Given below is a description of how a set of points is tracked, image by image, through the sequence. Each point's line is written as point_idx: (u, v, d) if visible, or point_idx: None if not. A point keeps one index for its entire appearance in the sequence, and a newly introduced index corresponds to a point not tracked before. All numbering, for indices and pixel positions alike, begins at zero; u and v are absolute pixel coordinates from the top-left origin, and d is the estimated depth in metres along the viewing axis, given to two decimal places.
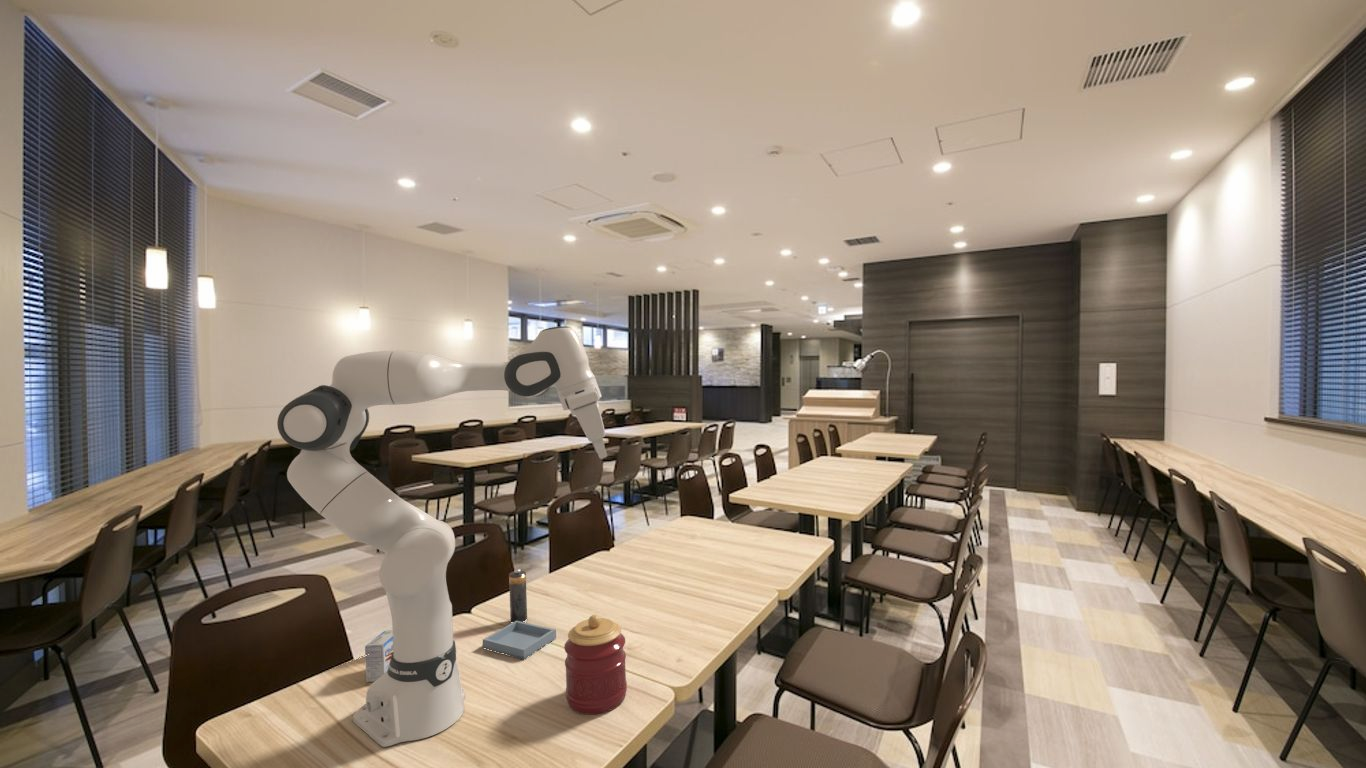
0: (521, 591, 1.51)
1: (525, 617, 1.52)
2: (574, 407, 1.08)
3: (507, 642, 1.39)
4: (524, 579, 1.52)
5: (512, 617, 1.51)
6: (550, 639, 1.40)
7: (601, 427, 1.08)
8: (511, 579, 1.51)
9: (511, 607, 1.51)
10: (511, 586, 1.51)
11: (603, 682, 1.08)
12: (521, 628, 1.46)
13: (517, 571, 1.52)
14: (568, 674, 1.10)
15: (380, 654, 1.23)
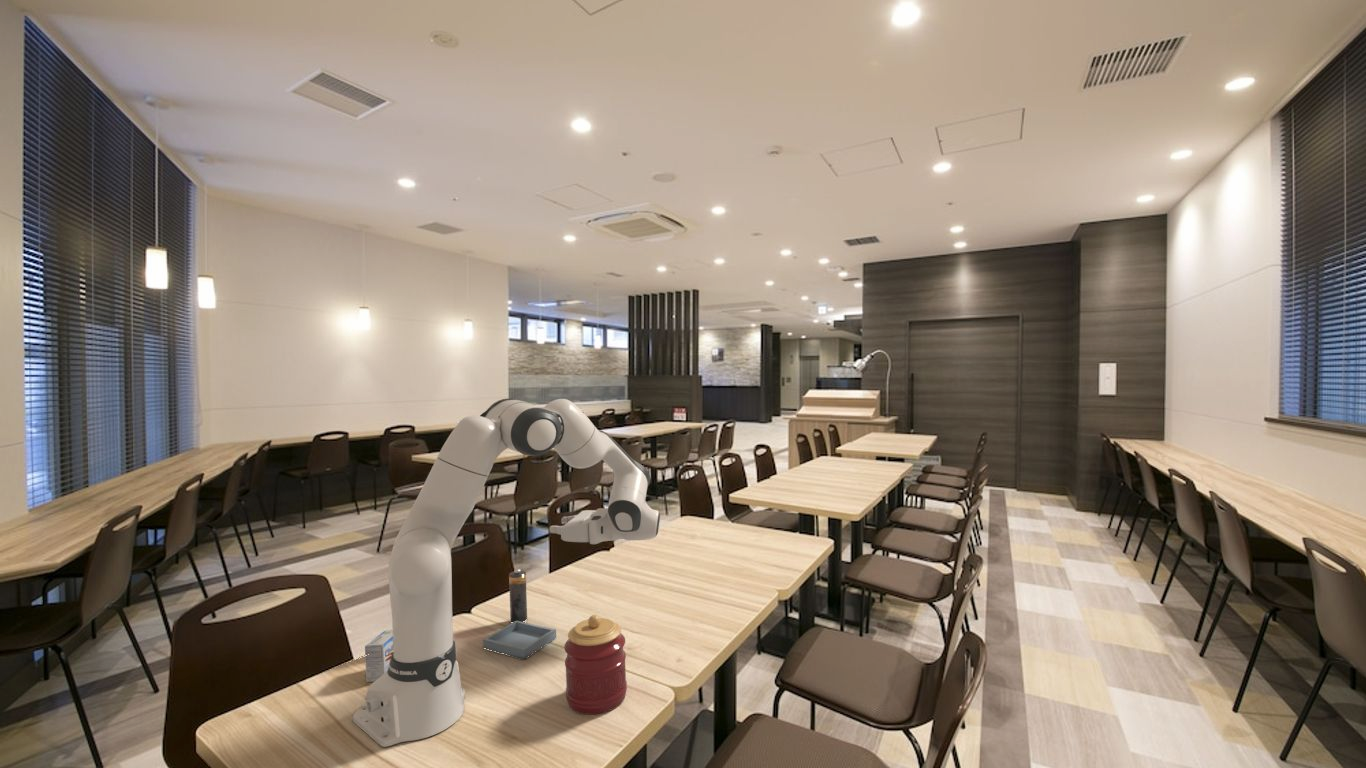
0: (521, 591, 1.51)
1: (525, 617, 1.52)
2: (589, 524, 1.42)
3: (507, 642, 1.39)
4: (524, 579, 1.52)
5: (512, 617, 1.51)
6: (550, 639, 1.40)
7: (567, 540, 1.41)
8: (511, 579, 1.51)
9: (511, 607, 1.51)
10: (511, 586, 1.51)
11: (603, 682, 1.08)
12: (521, 628, 1.46)
13: (517, 571, 1.52)
14: (568, 674, 1.10)
15: (380, 654, 1.23)
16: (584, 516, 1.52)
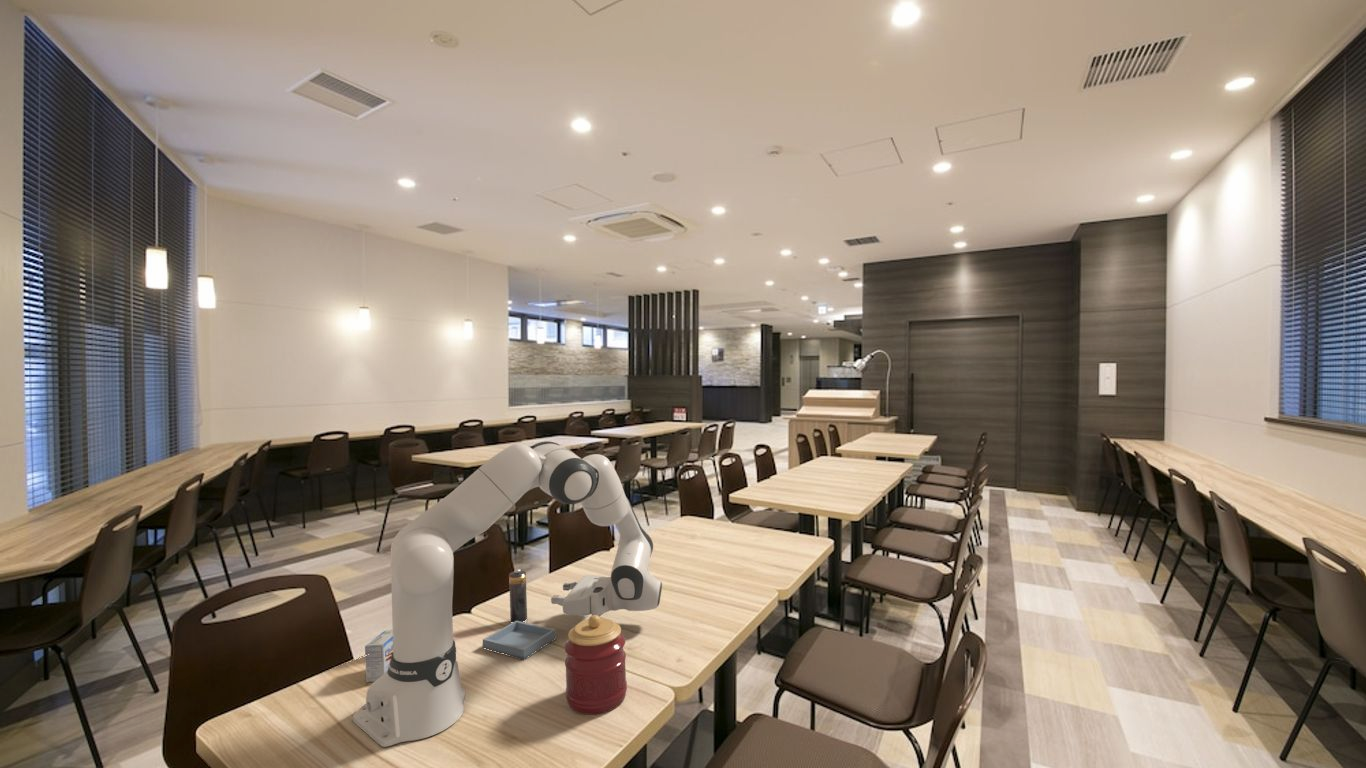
0: (521, 591, 1.51)
1: (525, 617, 1.52)
2: (591, 597, 1.42)
3: (507, 642, 1.39)
4: (524, 579, 1.52)
5: (512, 617, 1.51)
6: (550, 639, 1.40)
7: (569, 613, 1.41)
8: (511, 579, 1.51)
9: (511, 607, 1.51)
10: (511, 586, 1.51)
11: (603, 682, 1.08)
12: (521, 628, 1.46)
13: (517, 571, 1.52)
14: (568, 674, 1.10)
15: (380, 654, 1.23)
16: (586, 584, 1.52)
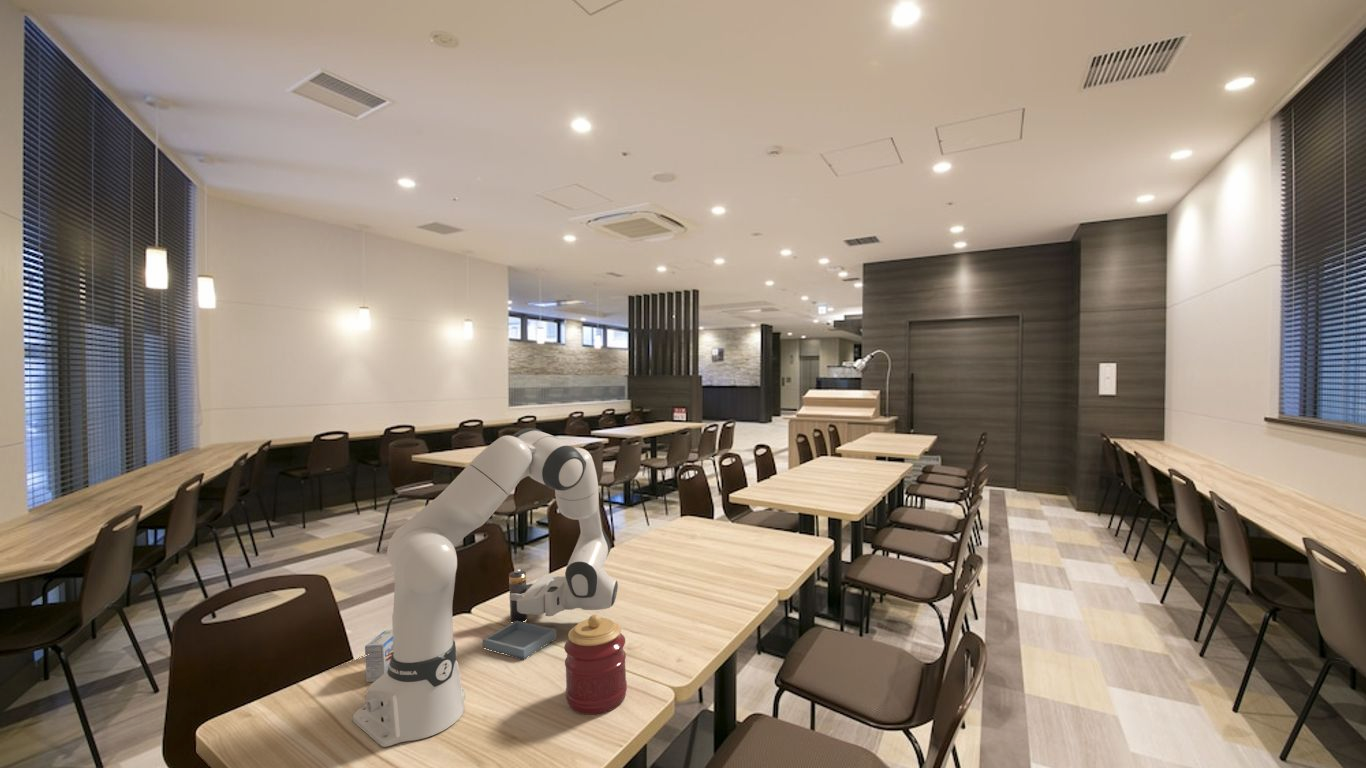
0: (521, 591, 1.51)
1: (525, 617, 1.52)
2: (545, 596, 1.43)
3: (507, 642, 1.39)
4: (524, 579, 1.52)
5: (512, 617, 1.51)
6: (550, 639, 1.40)
7: (523, 612, 1.42)
8: (511, 579, 1.51)
9: (511, 607, 1.51)
10: (511, 586, 1.51)
11: (603, 682, 1.08)
12: (521, 628, 1.46)
13: (517, 571, 1.52)
14: (568, 674, 1.10)
15: (380, 654, 1.23)
16: (543, 583, 1.54)
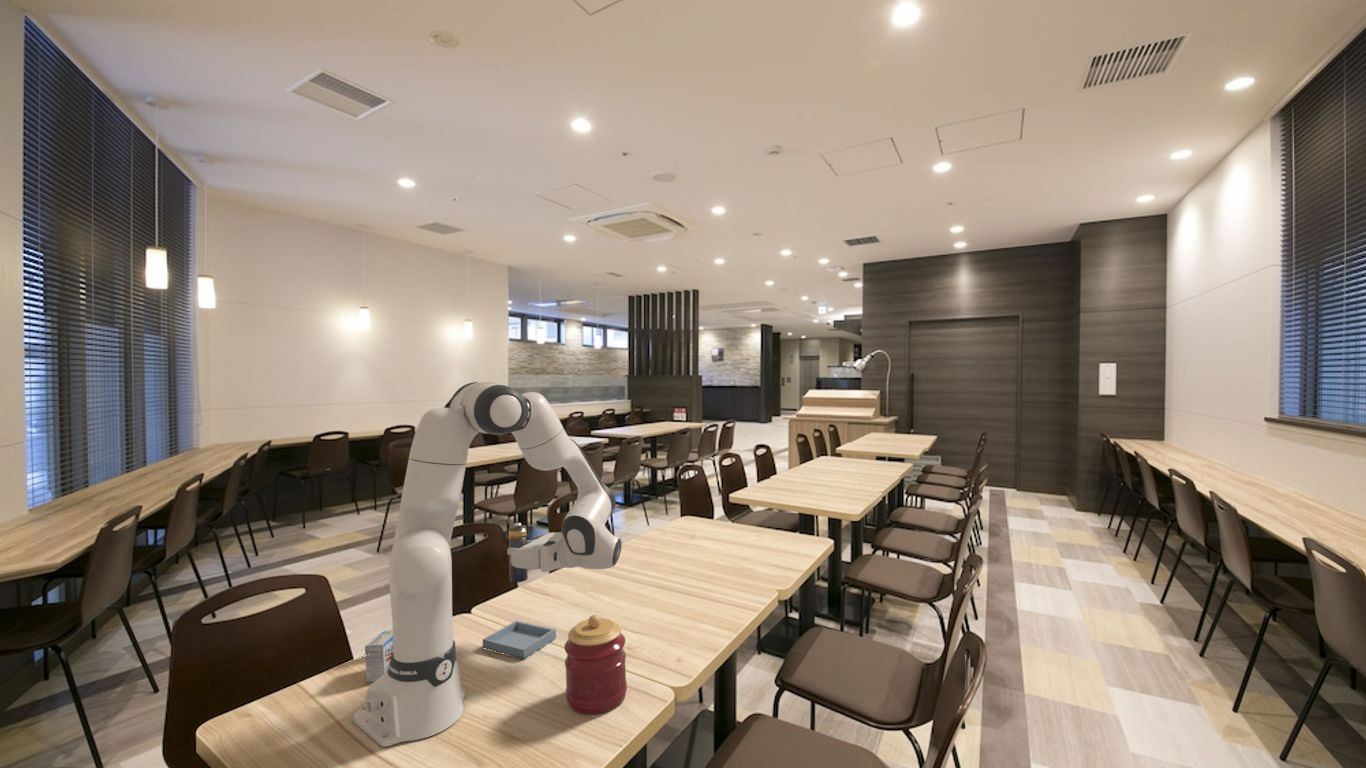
0: (520, 546, 1.41)
1: (525, 574, 1.42)
2: (540, 550, 1.32)
3: (507, 642, 1.39)
4: (524, 534, 1.42)
5: (511, 573, 1.41)
6: (550, 639, 1.40)
7: (517, 566, 1.32)
8: (510, 533, 1.41)
9: (510, 563, 1.41)
10: (510, 540, 1.41)
11: (603, 682, 1.08)
12: (521, 628, 1.46)
13: (517, 525, 1.42)
14: (568, 674, 1.10)
15: (380, 654, 1.23)
16: (544, 540, 1.43)
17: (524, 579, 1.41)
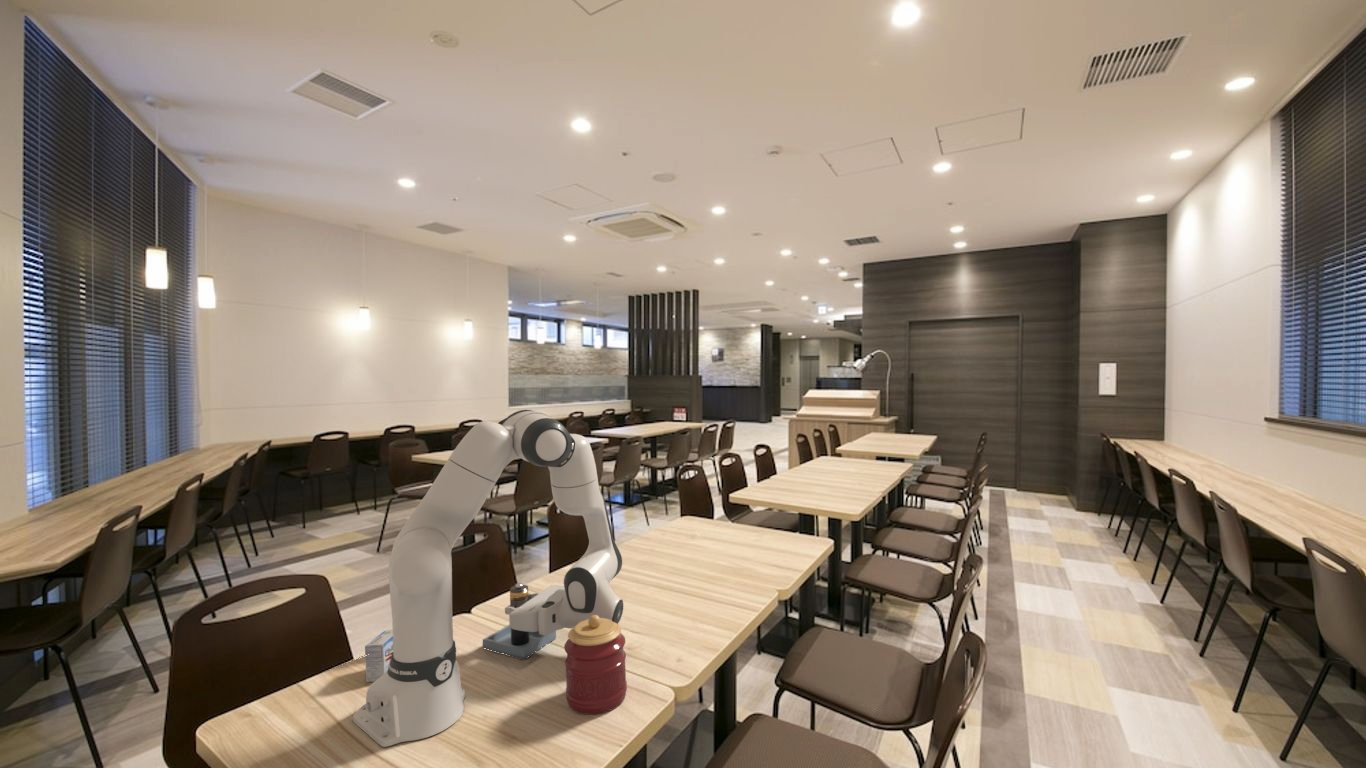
0: None
1: (526, 637, 1.38)
2: (538, 612, 1.28)
3: (507, 642, 1.39)
4: (525, 595, 1.38)
5: (512, 636, 1.38)
6: (550, 639, 1.40)
7: (515, 628, 1.28)
8: (511, 594, 1.38)
9: None
10: (511, 602, 1.38)
11: (603, 682, 1.08)
12: None
13: (518, 586, 1.39)
14: (568, 674, 1.10)
15: (380, 654, 1.23)
16: (545, 596, 1.39)
17: (525, 642, 1.38)
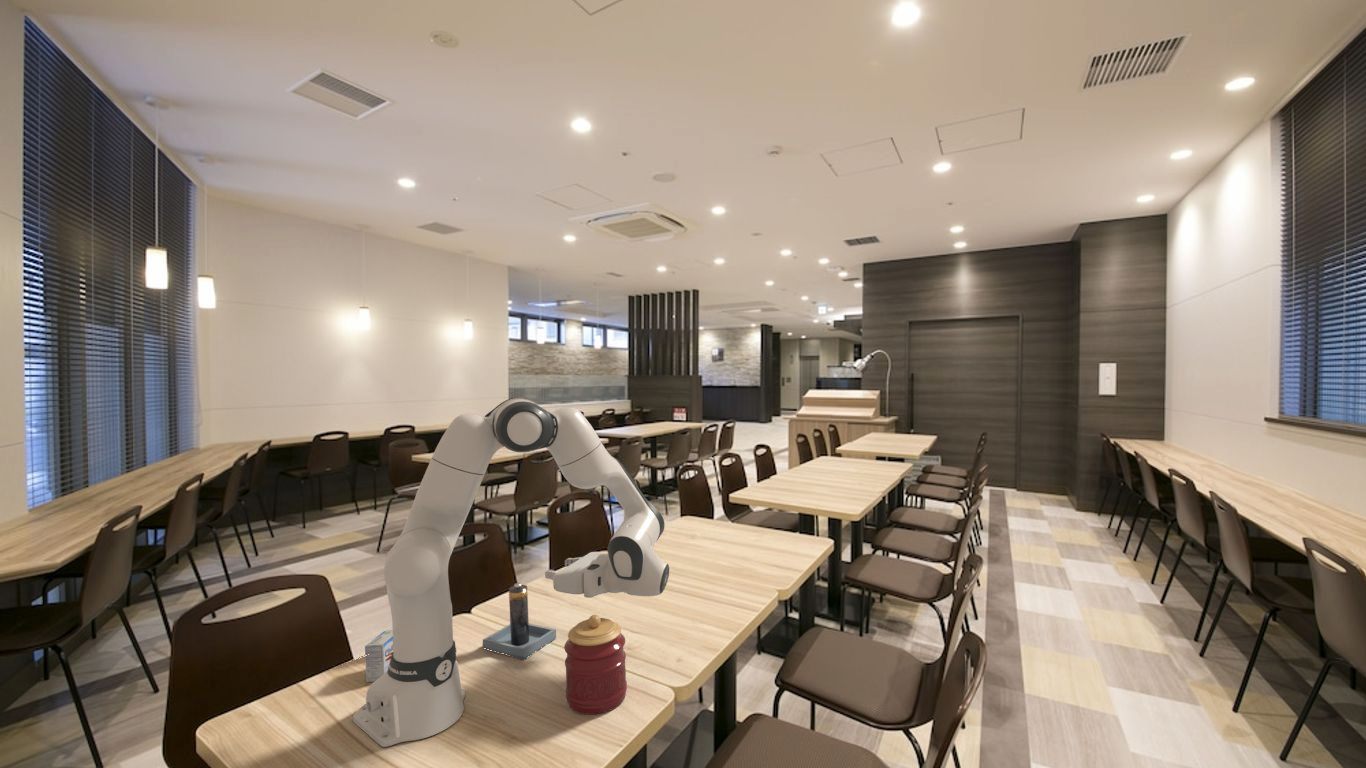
0: (521, 608, 1.38)
1: (526, 637, 1.38)
2: (584, 574, 1.24)
3: (507, 642, 1.39)
4: (524, 595, 1.38)
5: (512, 636, 1.38)
6: (550, 639, 1.40)
7: (559, 590, 1.24)
8: (510, 594, 1.38)
9: (511, 625, 1.38)
10: (510, 602, 1.38)
11: (603, 682, 1.08)
12: None
13: (517, 586, 1.39)
14: (568, 674, 1.10)
15: (380, 654, 1.23)
16: (587, 561, 1.35)
17: (525, 642, 1.38)
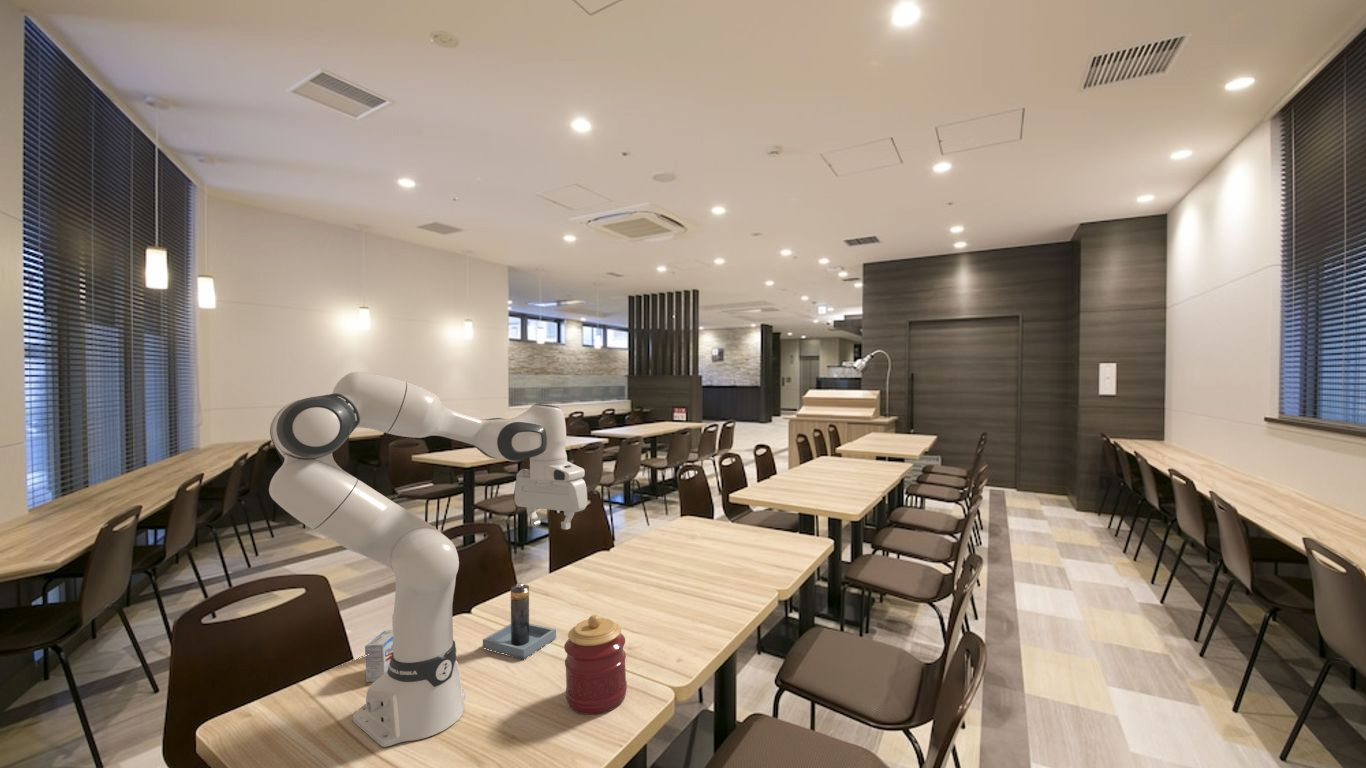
0: (522, 608, 1.38)
1: (526, 637, 1.38)
2: (571, 479, 1.24)
3: (507, 642, 1.39)
4: (526, 595, 1.39)
5: (512, 636, 1.38)
6: (550, 639, 1.40)
7: (586, 500, 1.26)
8: (512, 594, 1.38)
9: (511, 625, 1.38)
10: (512, 602, 1.38)
11: (603, 682, 1.08)
12: None
13: (519, 586, 1.39)
14: (568, 674, 1.10)
15: (380, 654, 1.23)
16: (538, 496, 1.29)
17: (525, 642, 1.38)
